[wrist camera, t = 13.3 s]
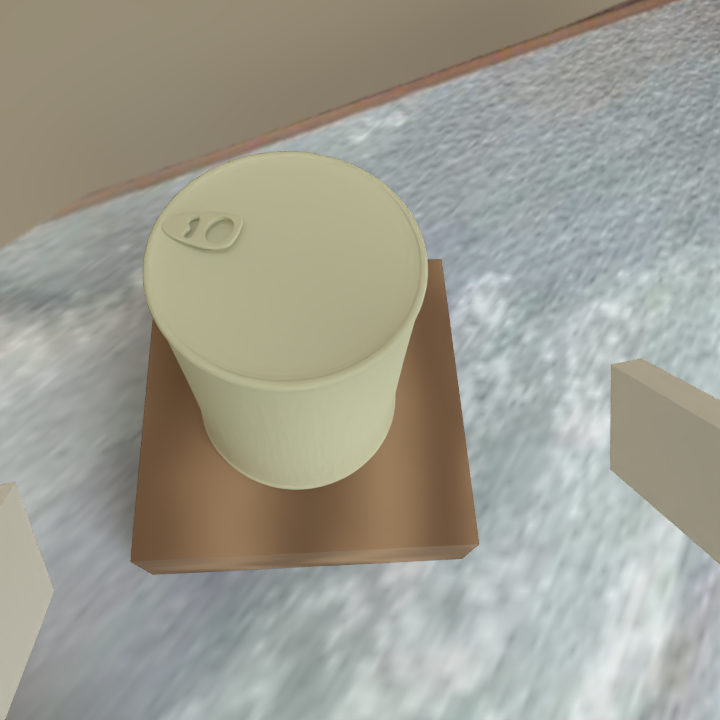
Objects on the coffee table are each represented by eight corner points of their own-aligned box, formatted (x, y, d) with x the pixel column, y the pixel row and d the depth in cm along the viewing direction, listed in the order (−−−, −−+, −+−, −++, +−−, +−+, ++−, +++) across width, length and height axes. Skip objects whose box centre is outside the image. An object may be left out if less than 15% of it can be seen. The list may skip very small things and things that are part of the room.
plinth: (430, 297, 39) (441, 259, 35) (462, 558, 32) (479, 544, 29) (173, 304, 38) (157, 265, 34) (153, 574, 31) (130, 561, 28)
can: (242, 291, 34) (204, 111, 23) (415, 340, 33) (460, 177, 22) (170, 457, 30) (82, 333, 19) (365, 515, 29) (390, 422, 18)
